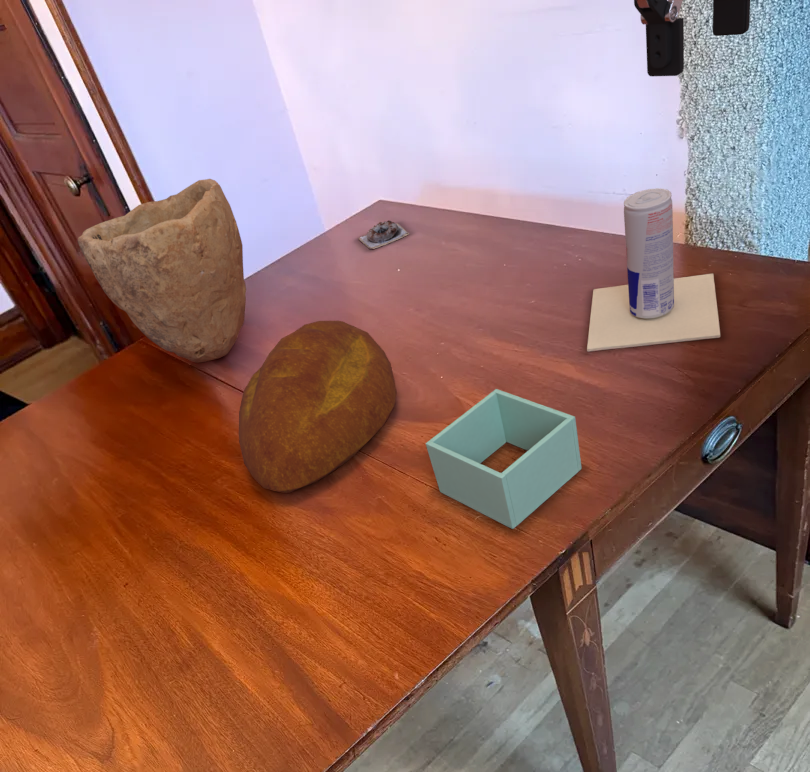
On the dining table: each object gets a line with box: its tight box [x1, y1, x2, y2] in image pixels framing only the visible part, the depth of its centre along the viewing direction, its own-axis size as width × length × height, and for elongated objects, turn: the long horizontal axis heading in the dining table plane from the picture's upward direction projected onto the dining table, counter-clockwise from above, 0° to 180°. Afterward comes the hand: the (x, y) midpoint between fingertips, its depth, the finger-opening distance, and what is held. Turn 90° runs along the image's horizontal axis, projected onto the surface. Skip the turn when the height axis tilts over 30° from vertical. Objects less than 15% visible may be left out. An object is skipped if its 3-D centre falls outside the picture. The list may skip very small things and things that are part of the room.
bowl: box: [77, 178, 247, 364], centre depth 117 cm, size 22×22×25 cm
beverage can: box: [623, 187, 675, 319], centre depth 94 cm, size 6×6×15 cm
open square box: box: [425, 388, 582, 530], centre depth 80 cm, size 11×11×7 cm
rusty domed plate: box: [358, 220, 410, 250], centre depth 143 cm, size 8×8×2 cm
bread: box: [238, 320, 397, 494], centre depth 97 cm, size 21×33×12 cm, turn 163°
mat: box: [586, 272, 721, 353], centre depth 100 cm, size 16×16×1 cm
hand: (698, 53), depth 65 cm, fingers open, 9 cm apart
